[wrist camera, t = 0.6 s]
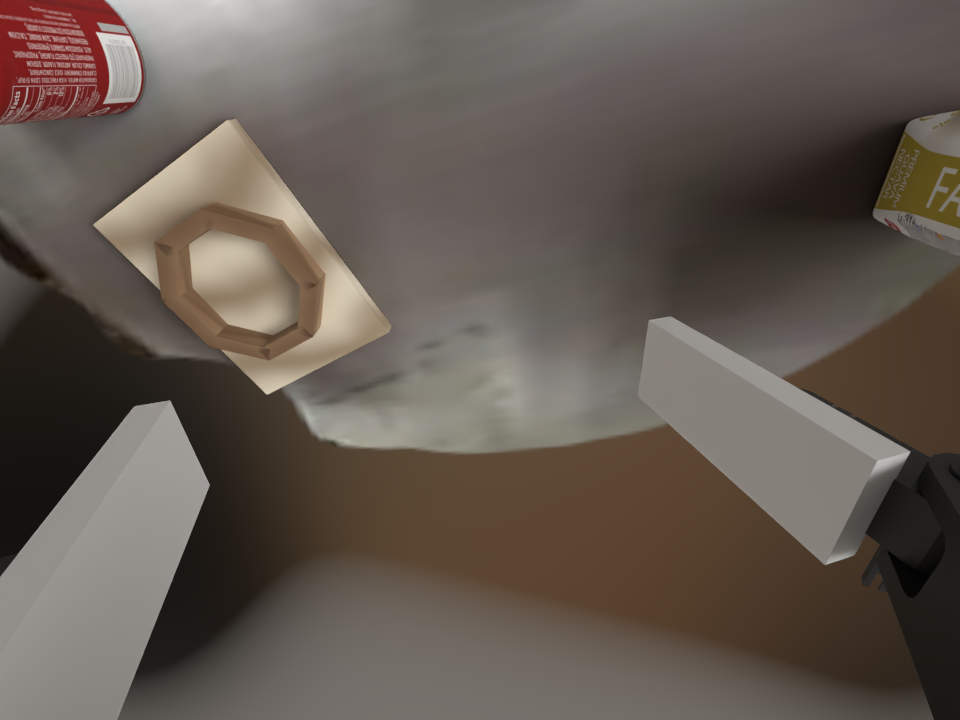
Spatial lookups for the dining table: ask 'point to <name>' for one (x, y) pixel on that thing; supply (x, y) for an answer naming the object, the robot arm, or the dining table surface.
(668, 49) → the dining table surface
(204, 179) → the ring board
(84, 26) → the soda can
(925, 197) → the juice carton
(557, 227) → the dining table surface
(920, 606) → the robot arm
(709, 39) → the dining table surface
